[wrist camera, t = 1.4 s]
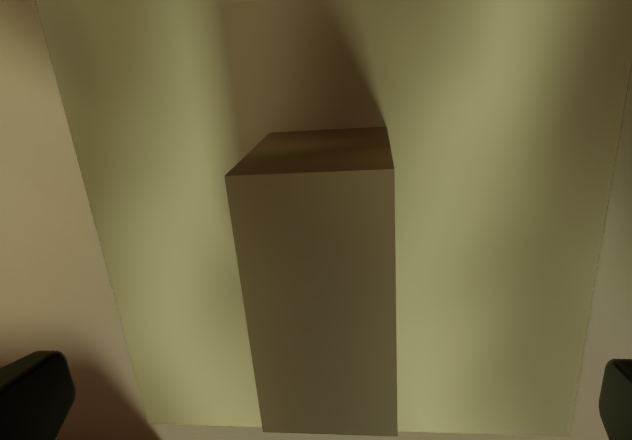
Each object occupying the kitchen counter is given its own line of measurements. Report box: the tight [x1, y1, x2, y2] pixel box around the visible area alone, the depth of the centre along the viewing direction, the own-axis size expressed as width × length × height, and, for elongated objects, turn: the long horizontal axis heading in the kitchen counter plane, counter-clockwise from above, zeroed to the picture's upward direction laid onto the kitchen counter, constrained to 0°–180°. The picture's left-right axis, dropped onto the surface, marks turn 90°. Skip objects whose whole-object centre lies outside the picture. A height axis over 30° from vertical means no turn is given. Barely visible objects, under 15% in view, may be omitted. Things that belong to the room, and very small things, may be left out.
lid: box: [35, 0, 632, 436], centre depth 11 cm, size 14×14×5 cm
